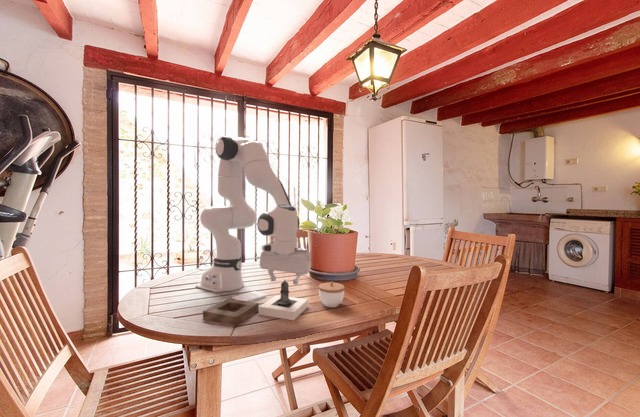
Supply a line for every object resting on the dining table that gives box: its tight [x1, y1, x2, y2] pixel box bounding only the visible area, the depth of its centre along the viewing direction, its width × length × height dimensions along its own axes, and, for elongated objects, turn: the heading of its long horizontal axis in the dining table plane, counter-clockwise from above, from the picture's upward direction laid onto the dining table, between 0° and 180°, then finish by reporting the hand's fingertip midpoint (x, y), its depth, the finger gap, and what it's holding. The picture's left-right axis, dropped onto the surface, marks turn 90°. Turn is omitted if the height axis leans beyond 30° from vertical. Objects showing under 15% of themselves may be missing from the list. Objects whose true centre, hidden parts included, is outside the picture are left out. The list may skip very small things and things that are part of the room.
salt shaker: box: [277, 279, 292, 308], centre depth 112 cm, size 6×6×12 cm
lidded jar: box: [318, 281, 346, 308], centre depth 119 cm, size 11×11×9 cm
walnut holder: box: [202, 298, 260, 327], centre depth 106 cm, size 14×14×3 cm
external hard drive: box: [230, 290, 267, 302], centre depth 124 cm, size 2×8×12 cm
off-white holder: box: [258, 294, 309, 321], centre depth 112 cm, size 14×14×3 cm
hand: (284, 282), depth 112 cm, fingers open, 8 cm apart
